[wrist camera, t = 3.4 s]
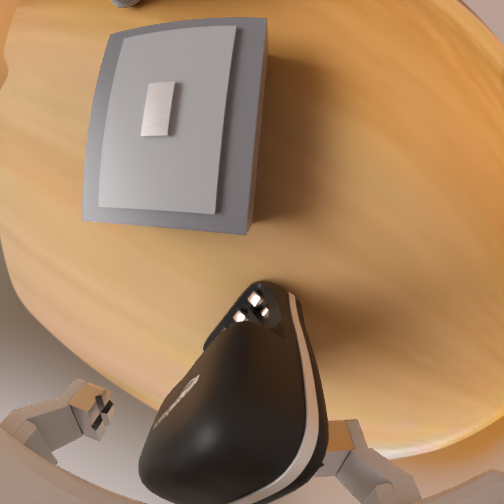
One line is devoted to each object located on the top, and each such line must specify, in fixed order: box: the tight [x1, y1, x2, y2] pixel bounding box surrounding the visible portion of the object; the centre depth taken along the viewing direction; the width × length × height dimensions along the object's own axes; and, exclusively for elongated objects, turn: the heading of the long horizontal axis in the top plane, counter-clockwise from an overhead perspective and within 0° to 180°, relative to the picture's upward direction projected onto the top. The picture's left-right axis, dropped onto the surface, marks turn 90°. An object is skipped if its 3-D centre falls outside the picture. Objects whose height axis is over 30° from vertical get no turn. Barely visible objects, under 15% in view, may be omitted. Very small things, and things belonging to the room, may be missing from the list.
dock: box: [82, 17, 268, 235], centre depth 12 cm, size 8×10×5 cm
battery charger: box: [139, 281, 329, 504], centre depth 11 cm, size 7×4×11 cm, turn 144°
